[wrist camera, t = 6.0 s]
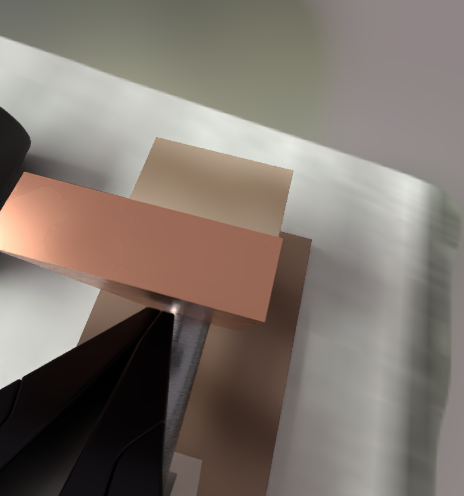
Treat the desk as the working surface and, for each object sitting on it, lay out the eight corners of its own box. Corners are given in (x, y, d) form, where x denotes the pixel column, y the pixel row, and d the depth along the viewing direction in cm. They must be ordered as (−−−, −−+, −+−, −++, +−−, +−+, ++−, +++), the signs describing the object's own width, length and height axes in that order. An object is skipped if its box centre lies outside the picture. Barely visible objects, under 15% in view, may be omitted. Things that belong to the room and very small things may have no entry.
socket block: (252, 293, 16) (272, 264, 10) (159, 268, 17) (118, 224, 10) (266, 232, 18) (293, 170, 11) (180, 210, 18) (156, 137, 11)
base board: (226, 679, 12) (227, 708, 11) (-18, 594, 13) (-38, 615, 12) (307, 244, 19) (311, 239, 18) (144, 202, 19) (140, 195, 18)
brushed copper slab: (192, 506, 11) (44, 1331, 2) (83, 472, 12) (-510, 1058, 2) (261, 229, 16) (320, 65, 6) (179, 208, 16) (115, 19, 6)
